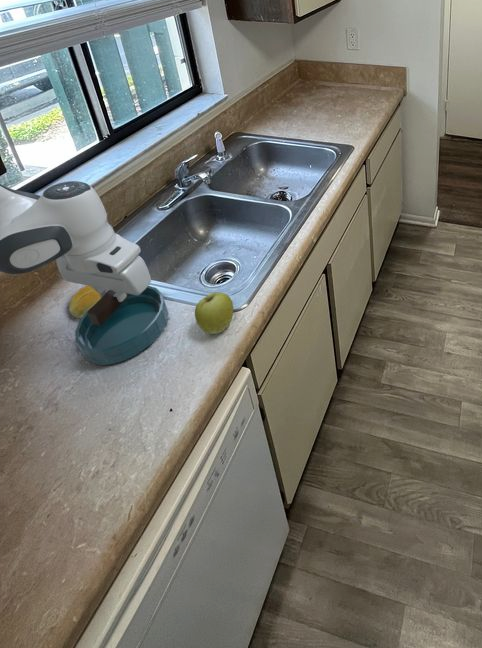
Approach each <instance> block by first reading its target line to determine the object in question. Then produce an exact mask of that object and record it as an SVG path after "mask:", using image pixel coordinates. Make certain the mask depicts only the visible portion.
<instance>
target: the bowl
mask: <svg viewBox="0 0 482 648" xmlns="http://www.w3.org/2000/svg"><path fill="white" fill-rule="evenodd" d="M92 307H93V306H92ZM92 307H91V308H92ZM91 308H90V309H91ZM90 309H89V310H90ZM89 310H88V311H89ZM168 318H169V309H168V307H167V304H166V301H165V298H164V296H163V293H162V292H161V291H160V290H159V289H158V288H157V287H155V286H151V285H148V287H147V288H146V289H145V290H144V291H143V292H142V293H141V294H140V295H132V294H131V295H130V296H129V297H128V298H127V299H126V300H125V301H124V302H123V303H122V304H121V305H120V306H119V307H118V308H117V309H116V310H115V311H114V312H113V314H112V315H111V316H110V317H109V318H108V319H107V320H106V321H105V322H104V323H103V324H102V325H101V326H99V325H95V324H92V322H91V320H90V318H89V316H88V314H87V312H86V313H85V315H84V316H83V317H82V318H81V319H80V320H79V321H78V323H77V327H76V329H75V332H74V336H75V337H74V338H75V343H76V345H77V346H78V349H79V350H80V353H81V354H82V356H83V357H84V358H85V360H86V361H87V362H89V363H92V364H94V365H96V366H97V365H98V366H99V365H101V366H102V365H106V366H107V365H113V364H117V363H121V362H125V361H127V360H128V359H131V358H132V357H135V356H137V355H138V354H140V353H142V352H143V351H144V350H145V349H147V348H148V347H149V346H151V345H152V344H153V343H154V341H155V340H157V338H158V337H160V335H161V334H162V332H163V330H164V329H165V328H166V326H167V322H168Z"/></svg>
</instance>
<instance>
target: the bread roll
mask: <svg viewBox="0 0 482 648" xmlns="http://www.w3.org/2000/svg"><path fill="white" fill-rule="evenodd" d="M100 299H101V296H100V294H99V293H98V292H97V291H95V290H94V289H93V288H92V287H91V286H88V285H84V287H82V288H80V289H79V290H78V291H76V293H74V295H73V297H72V298H71V300H70V302H69V306H68V310H69V313H70V314H71V316H72V317H73V318H74V319H80V320H81V318H82V317H83V316H84V315H85V313H86V312H87V311H88V310H89V309H90V308H91V307H92V306H94V305H95V304H96V303H97V302H98V301H99V300H100Z"/></svg>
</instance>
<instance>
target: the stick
mask: <svg viewBox="0 0 482 648" xmlns="http://www.w3.org/2000/svg"><path fill="white" fill-rule="evenodd" d="M114 294H116V292H114V291H113V290H109V291H108V292H107V293H106V294H105V295H104V296H103V297H102V298H101V299H100V300H99V301H98V302H97V303H96V304H95V305H94V306H93V307H92V308H91V309H90V310H89V311H87V314H88V316H89V318H90V320H91V322H92V324H95V325H99V326H101V325H102V324H103V323H104V322H105V321H106V320H107V319H108V318H109V317H110V316H111V315H112V314H113V312H114V311H115V310H116V309H117V308H118V307H119V306H120V305H121V304H122V303H123V302H124V301H125V300H126V299H127V298H128V297H129V296H130V295H131V294H127V293H126V295H127V296H126V298H125V299H124V300H123V301H122V302H118V301H115V300H114V297H113V295H114Z"/></svg>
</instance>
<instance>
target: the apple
mask: <svg viewBox="0 0 482 648" xmlns="http://www.w3.org/2000/svg"><path fill="white" fill-rule="evenodd" d="M233 316H234V302H233V300H232V299H231V297H230V296H229V295H228V294H226V293H224V292H220V291H219V292H218V291H217V292H212V293H210V294H208V295H207V296H205V297H203V298H201V299H200V300H199V301H198V302H197V304H196V306H195V308H194V317H195V321H196V323H197V325H198V327H199V328H200V329H201V330H202V331H203V332H204V333H206V334H209V335H217V334H219V333H222V332H224V331H225V330H226V329H227V328H228V327H229V325H230V324H231V322H232V320H233Z"/></svg>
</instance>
